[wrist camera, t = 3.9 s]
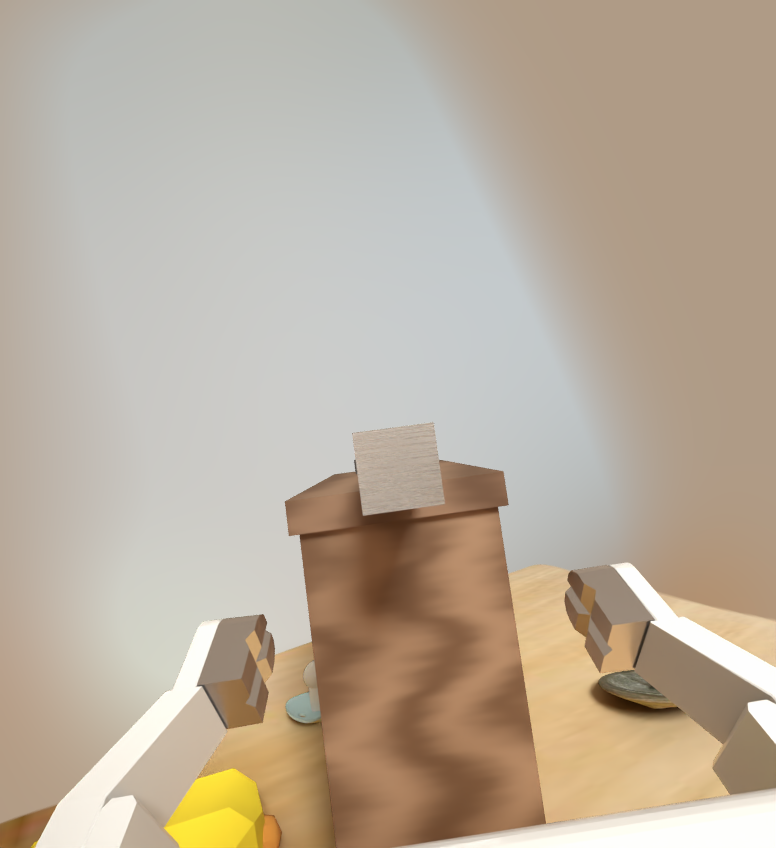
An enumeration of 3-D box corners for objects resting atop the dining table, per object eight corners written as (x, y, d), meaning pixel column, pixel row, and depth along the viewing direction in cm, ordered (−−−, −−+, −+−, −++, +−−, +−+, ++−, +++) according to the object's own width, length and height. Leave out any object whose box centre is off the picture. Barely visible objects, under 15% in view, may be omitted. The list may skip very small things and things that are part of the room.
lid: (636, 752, 31) (625, 691, 32) (583, 678, 41) (575, 633, 42) (767, 742, 31) (755, 680, 31) (681, 670, 41) (673, 623, 41)
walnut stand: (340, 984, 20) (279, 450, 22) (362, 698, 43) (331, 449, 45) (575, 943, 20) (495, 421, 22) (472, 681, 43) (437, 435, 45)
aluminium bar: (362, 515, 13) (352, 433, 14) (374, 472, 38) (370, 443, 38) (445, 504, 13) (433, 422, 14) (403, 468, 38) (399, 439, 39)
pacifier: (283, 709, 43) (291, 742, 38) (277, 653, 44) (284, 678, 38) (343, 686, 46) (358, 713, 41) (337, 634, 47) (351, 653, 41)
